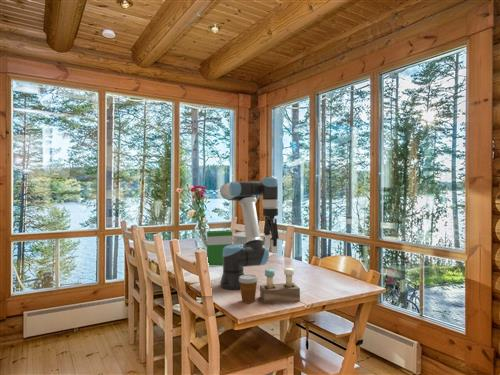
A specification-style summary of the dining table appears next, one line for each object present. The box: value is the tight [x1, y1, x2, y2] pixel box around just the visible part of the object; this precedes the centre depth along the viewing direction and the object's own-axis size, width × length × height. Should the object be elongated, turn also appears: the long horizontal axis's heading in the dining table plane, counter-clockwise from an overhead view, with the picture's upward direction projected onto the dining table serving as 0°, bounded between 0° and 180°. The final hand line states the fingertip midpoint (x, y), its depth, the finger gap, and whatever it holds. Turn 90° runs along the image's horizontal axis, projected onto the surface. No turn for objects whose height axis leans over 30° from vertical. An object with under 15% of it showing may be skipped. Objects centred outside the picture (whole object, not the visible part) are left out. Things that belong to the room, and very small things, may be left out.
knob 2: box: [283, 267, 295, 288], centre depth 173 cm, size 5×5×9 cm
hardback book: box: [206, 229, 233, 266], centre depth 249 cm, size 18×7×24 cm, turn 104°
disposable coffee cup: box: [239, 274, 259, 304], centre depth 169 cm, size 10×10×12 cm
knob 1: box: [264, 268, 275, 289], centre depth 171 cm, size 5×5×9 cm
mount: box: [259, 282, 301, 304], centre depth 172 cm, size 10×18×6 cm, turn 100°
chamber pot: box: [232, 230, 265, 246], centre depth 283 cm, size 28×28×21 cm
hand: (270, 250), depth 171 cm, fingers open, 13 cm apart
